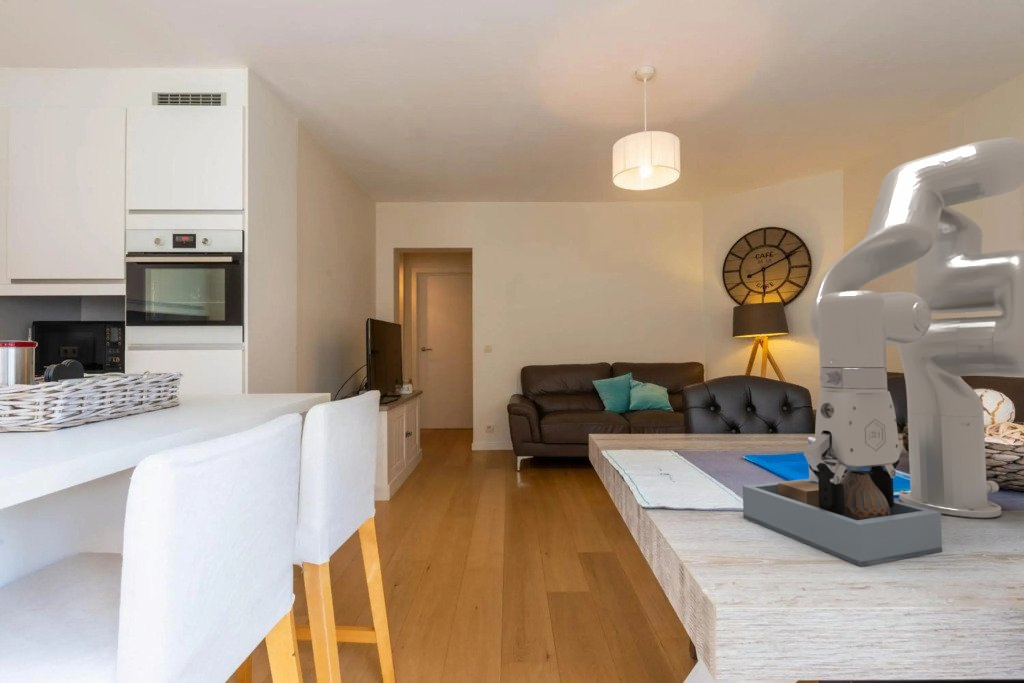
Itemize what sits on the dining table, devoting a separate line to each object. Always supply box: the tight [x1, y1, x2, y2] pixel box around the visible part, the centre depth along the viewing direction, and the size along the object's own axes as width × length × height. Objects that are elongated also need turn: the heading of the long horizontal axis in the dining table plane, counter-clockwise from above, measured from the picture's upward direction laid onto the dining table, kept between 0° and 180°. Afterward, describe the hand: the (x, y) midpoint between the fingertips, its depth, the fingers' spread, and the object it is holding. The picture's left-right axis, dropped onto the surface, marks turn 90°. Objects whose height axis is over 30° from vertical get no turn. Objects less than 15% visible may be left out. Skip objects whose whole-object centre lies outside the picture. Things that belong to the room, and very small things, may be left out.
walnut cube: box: [778, 479, 827, 511], centre depth 72 cm, size 5×5×5 cm
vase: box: [829, 470, 891, 520], centre depth 65 cm, size 7×7×9 cm
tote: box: [742, 478, 943, 568], centre depth 68 cm, size 14×18×5 cm
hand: (856, 507), depth 64 cm, fingers open, 8 cm apart
